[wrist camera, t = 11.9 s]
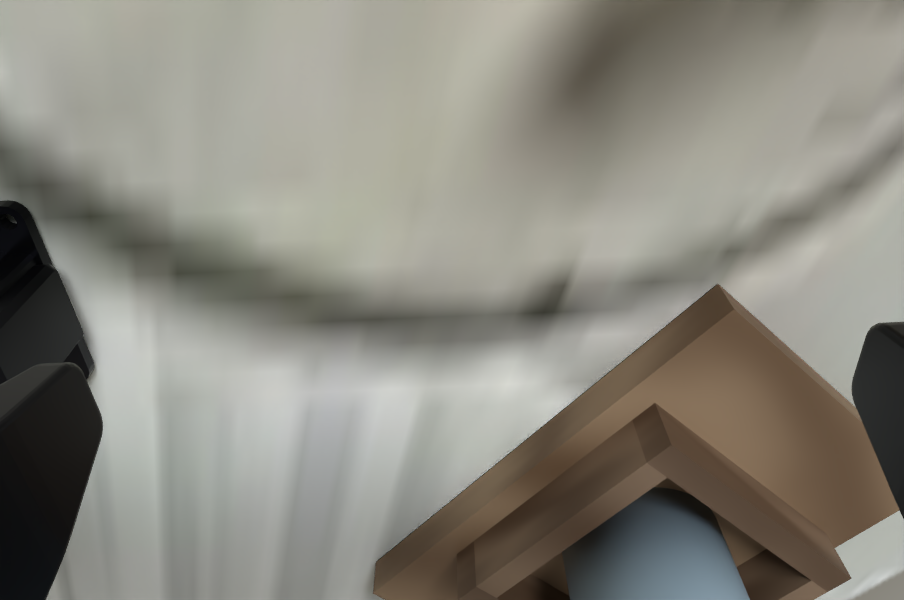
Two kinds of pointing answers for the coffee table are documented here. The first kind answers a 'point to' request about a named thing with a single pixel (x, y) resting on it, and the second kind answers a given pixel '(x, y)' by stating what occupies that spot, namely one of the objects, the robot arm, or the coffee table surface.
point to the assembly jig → (667, 471)
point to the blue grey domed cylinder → (655, 554)
